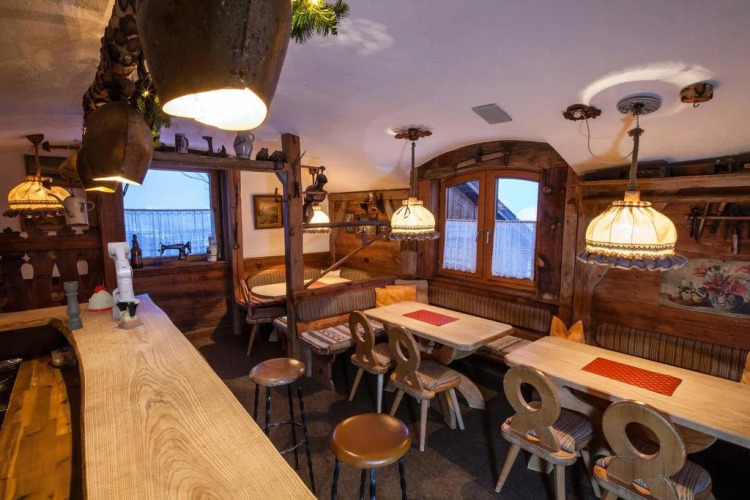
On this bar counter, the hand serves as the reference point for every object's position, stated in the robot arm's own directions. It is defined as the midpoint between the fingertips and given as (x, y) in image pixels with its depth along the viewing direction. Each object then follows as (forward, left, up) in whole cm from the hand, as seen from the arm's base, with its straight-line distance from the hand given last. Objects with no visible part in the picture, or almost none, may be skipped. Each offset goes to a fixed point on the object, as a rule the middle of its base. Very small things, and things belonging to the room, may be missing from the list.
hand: (128, 315), depth 196 cm
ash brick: (0, 0, -2) cm, 2 cm away
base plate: (0, 0, -7) cm, 7 cm away
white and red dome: (-52, +23, -7) cm, 57 cm away
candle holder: (-27, -9, -7) cm, 29 cm away
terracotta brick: (0, 0, -5) cm, 5 cm away
